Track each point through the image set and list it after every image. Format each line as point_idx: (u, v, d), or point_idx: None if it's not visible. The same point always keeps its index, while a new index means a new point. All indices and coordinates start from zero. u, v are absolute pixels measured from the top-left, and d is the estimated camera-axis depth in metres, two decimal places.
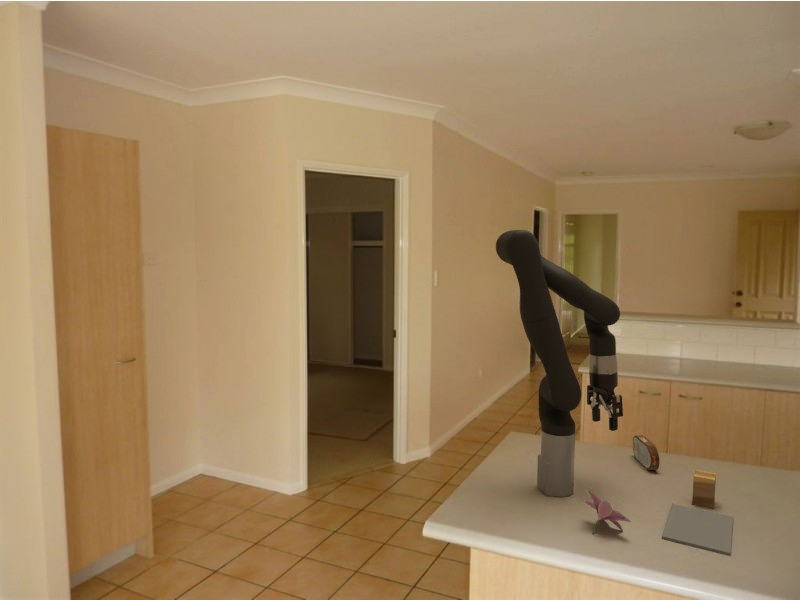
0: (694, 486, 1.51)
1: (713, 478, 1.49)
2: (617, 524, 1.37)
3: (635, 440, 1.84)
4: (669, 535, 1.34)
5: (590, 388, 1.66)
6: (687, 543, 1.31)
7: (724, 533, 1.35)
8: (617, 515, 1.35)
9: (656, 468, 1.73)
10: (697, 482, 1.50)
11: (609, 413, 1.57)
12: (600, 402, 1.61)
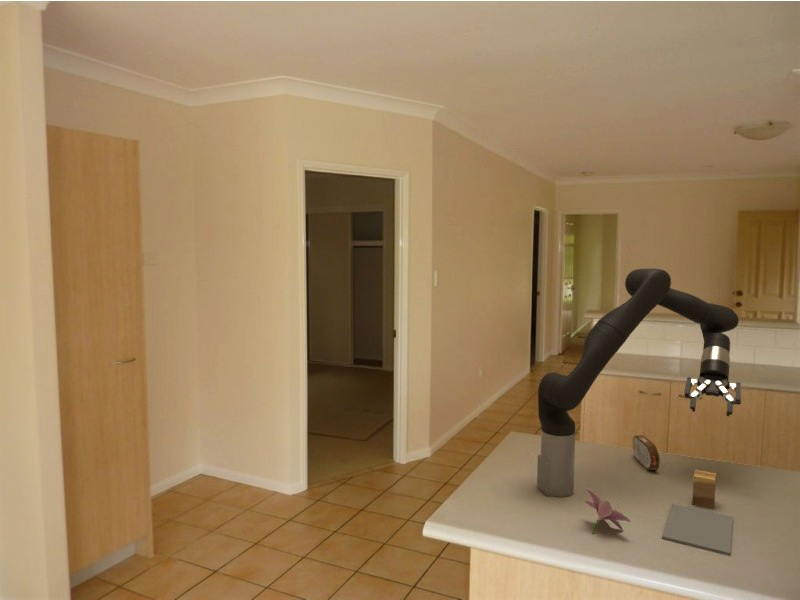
0: (694, 486, 1.51)
1: (713, 478, 1.49)
2: (617, 524, 1.38)
3: (635, 440, 1.84)
4: (669, 535, 1.34)
5: (691, 380, 1.68)
6: (687, 543, 1.31)
7: (724, 533, 1.35)
8: (617, 515, 1.36)
9: (656, 468, 1.73)
10: (697, 482, 1.50)
11: (729, 397, 1.60)
12: (712, 389, 1.63)
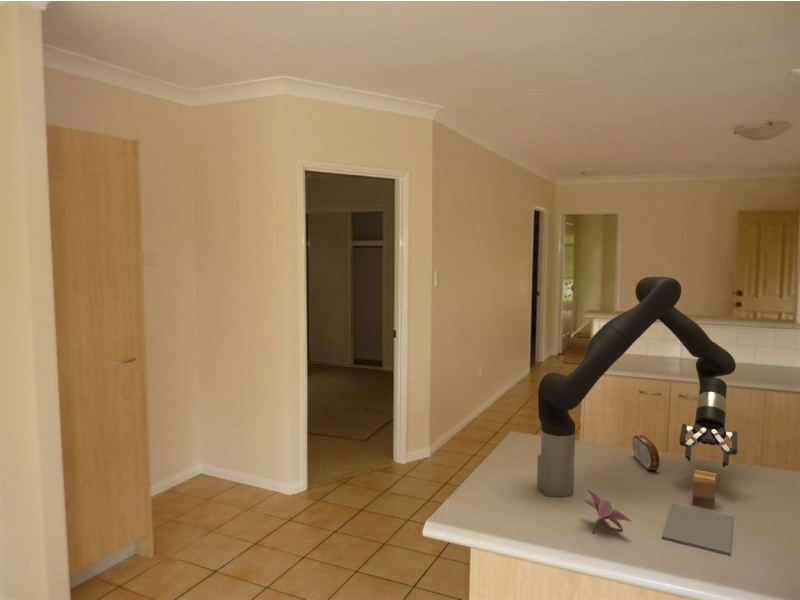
0: (694, 486, 1.51)
1: (713, 478, 1.49)
2: (617, 523, 1.38)
3: (635, 440, 1.84)
4: (669, 535, 1.34)
5: (686, 427, 1.63)
6: (687, 543, 1.31)
7: (724, 533, 1.35)
8: (617, 514, 1.36)
9: (656, 468, 1.73)
10: (697, 482, 1.50)
11: (725, 447, 1.55)
12: (707, 438, 1.59)
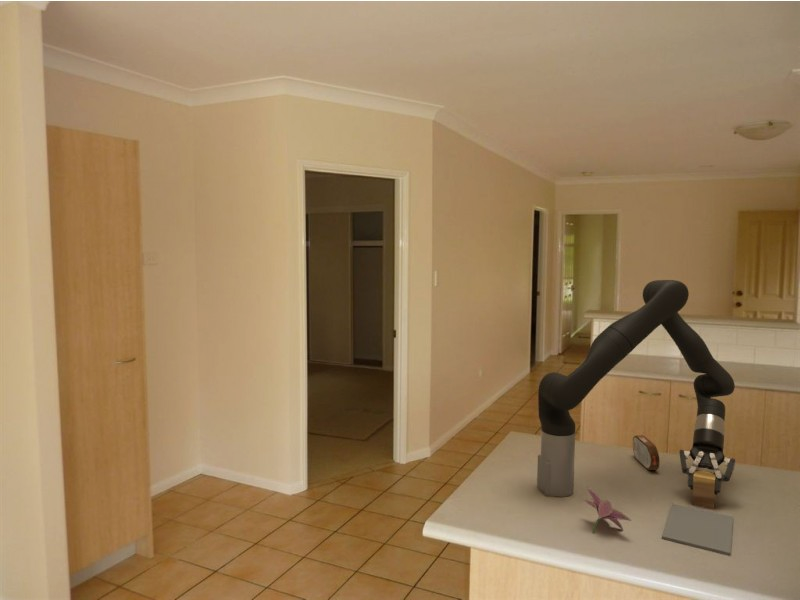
0: (694, 486, 1.51)
1: (713, 478, 1.49)
2: (617, 523, 1.38)
3: (635, 440, 1.84)
4: (669, 535, 1.34)
5: (684, 452, 1.58)
6: (687, 543, 1.31)
7: (724, 533, 1.35)
8: (617, 514, 1.36)
9: (656, 468, 1.73)
10: (697, 482, 1.50)
11: (717, 474, 1.51)
12: (705, 462, 1.54)
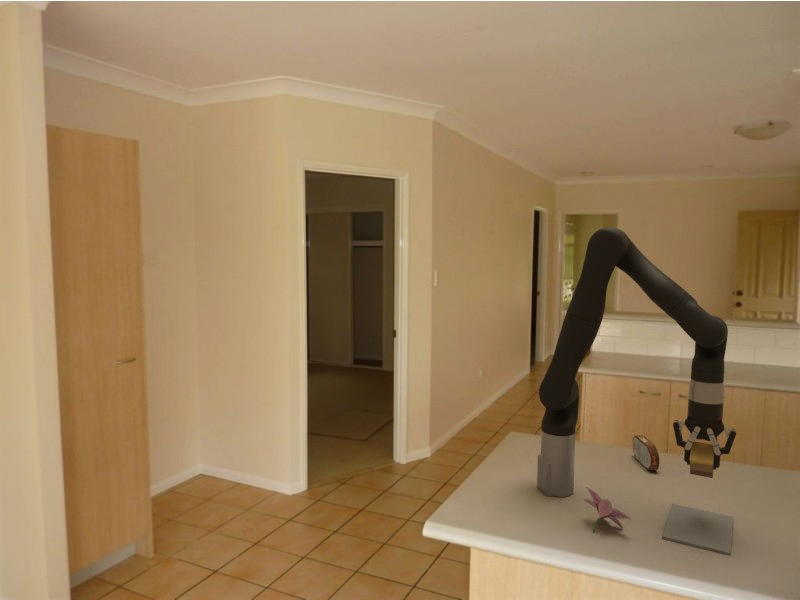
0: (691, 464, 1.39)
1: (711, 459, 1.36)
2: (617, 522, 1.38)
3: (635, 440, 1.84)
4: (669, 535, 1.34)
5: (678, 425, 1.40)
6: (687, 543, 1.31)
7: (724, 533, 1.35)
8: (617, 513, 1.36)
9: (656, 468, 1.73)
10: (694, 463, 1.38)
11: (716, 450, 1.36)
12: (702, 437, 1.37)
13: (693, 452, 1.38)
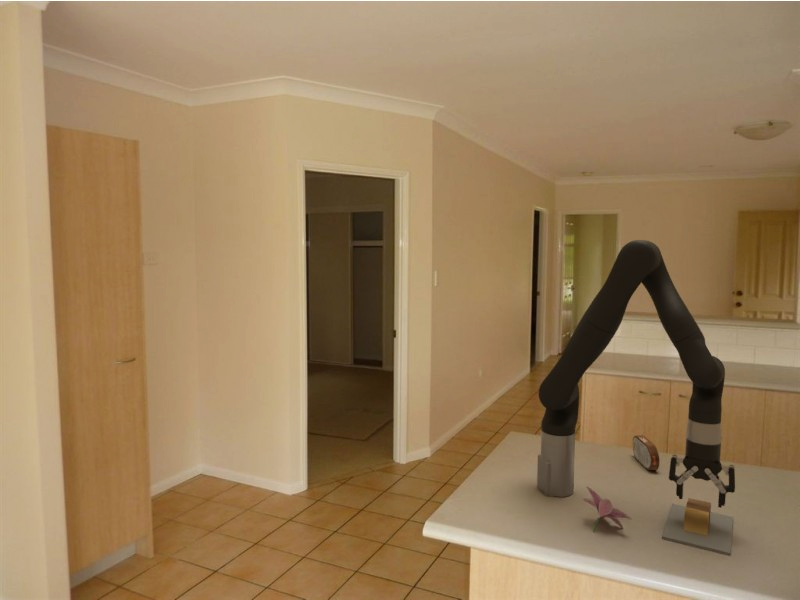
0: None
1: (705, 531, 1.34)
2: (617, 521, 1.39)
3: (635, 440, 1.84)
4: (669, 535, 1.34)
5: (676, 461, 1.41)
6: (687, 543, 1.31)
7: (724, 533, 1.35)
8: (617, 513, 1.37)
9: (656, 468, 1.73)
10: None
11: (721, 488, 1.36)
12: (700, 476, 1.38)
13: (687, 522, 1.36)
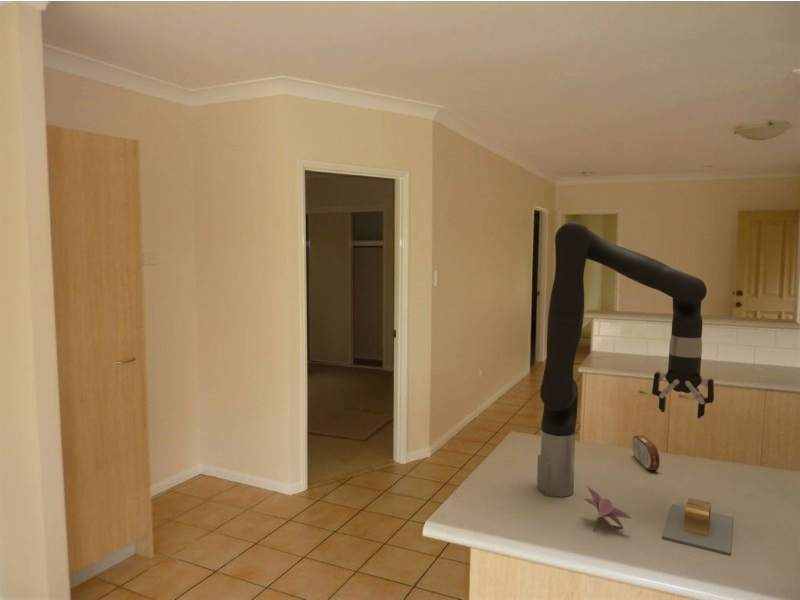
0: None
1: (705, 531, 1.34)
2: (617, 521, 1.39)
3: (635, 440, 1.84)
4: (669, 535, 1.34)
5: (659, 376, 1.49)
6: (687, 543, 1.31)
7: (724, 533, 1.35)
8: (617, 512, 1.37)
9: (656, 468, 1.73)
10: None
11: (700, 399, 1.44)
12: (681, 389, 1.46)
13: (687, 522, 1.36)
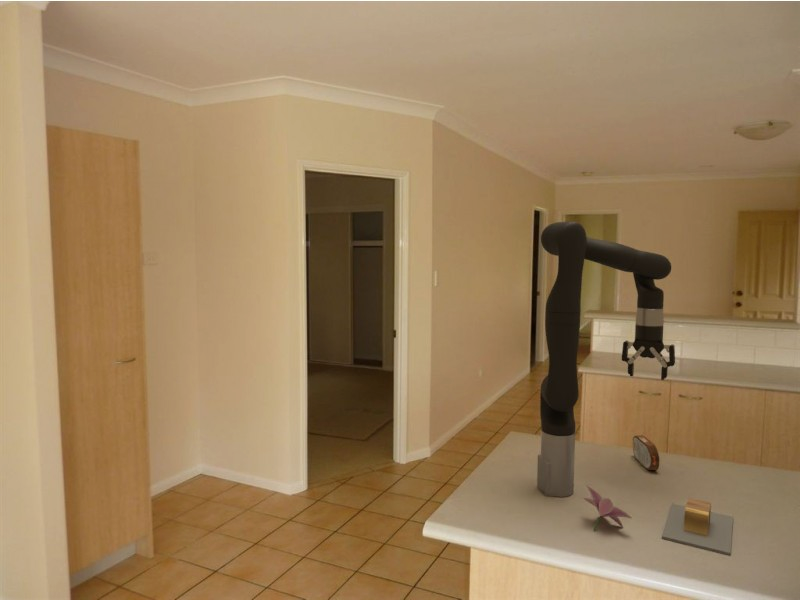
0: None
1: (705, 531, 1.34)
2: (617, 520, 1.39)
3: (635, 440, 1.84)
4: (669, 535, 1.34)
5: (627, 344, 1.69)
6: (687, 543, 1.31)
7: (724, 533, 1.35)
8: (617, 512, 1.37)
9: (656, 468, 1.73)
10: None
11: (663, 363, 1.64)
12: (647, 355, 1.66)
13: (687, 522, 1.36)
